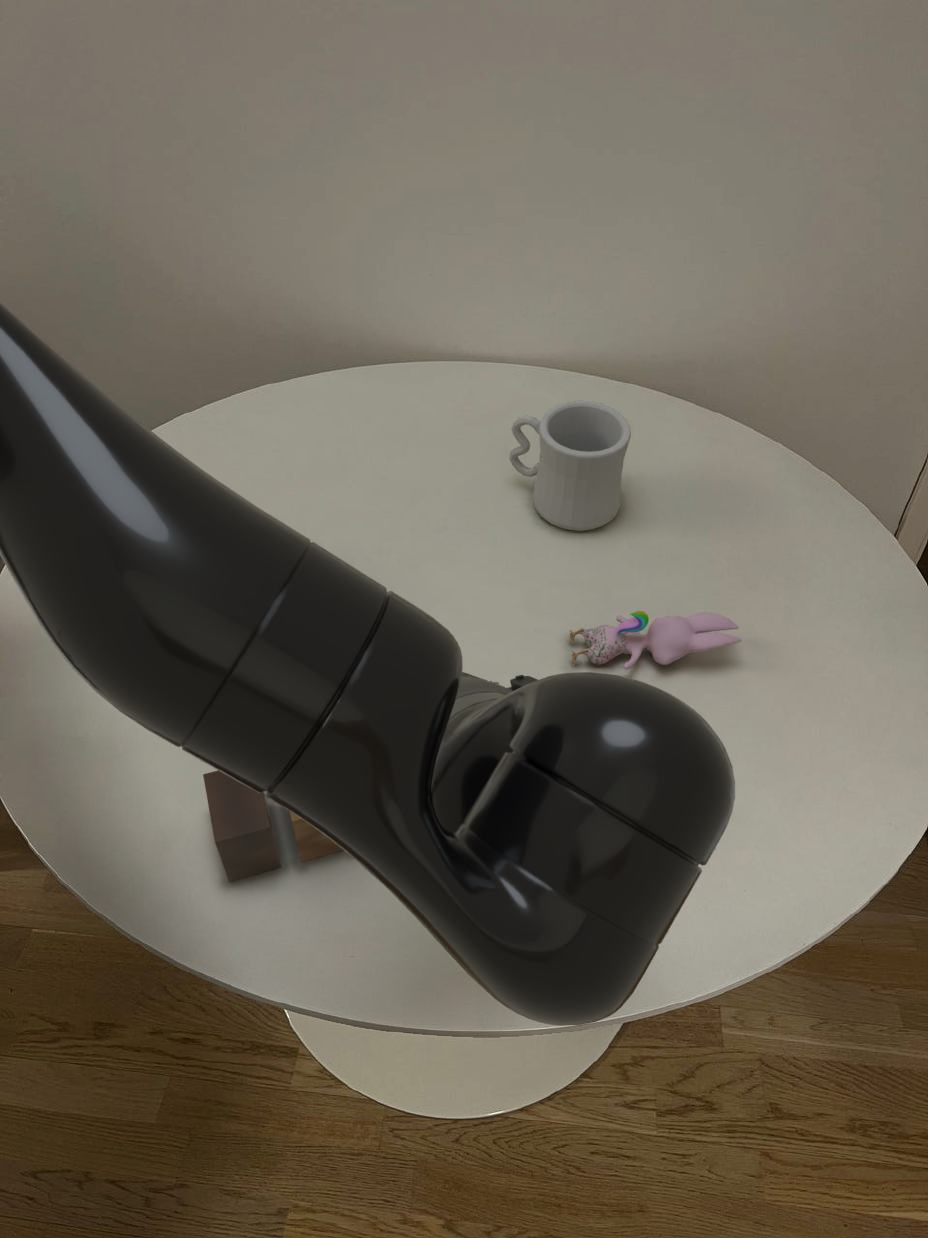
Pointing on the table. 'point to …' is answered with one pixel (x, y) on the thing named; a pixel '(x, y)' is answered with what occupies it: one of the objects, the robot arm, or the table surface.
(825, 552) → the table surface
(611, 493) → the mug
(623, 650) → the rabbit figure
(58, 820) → the table surface
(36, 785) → the table surface
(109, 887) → the table surface
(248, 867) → the walnut block
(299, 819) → the oak block
